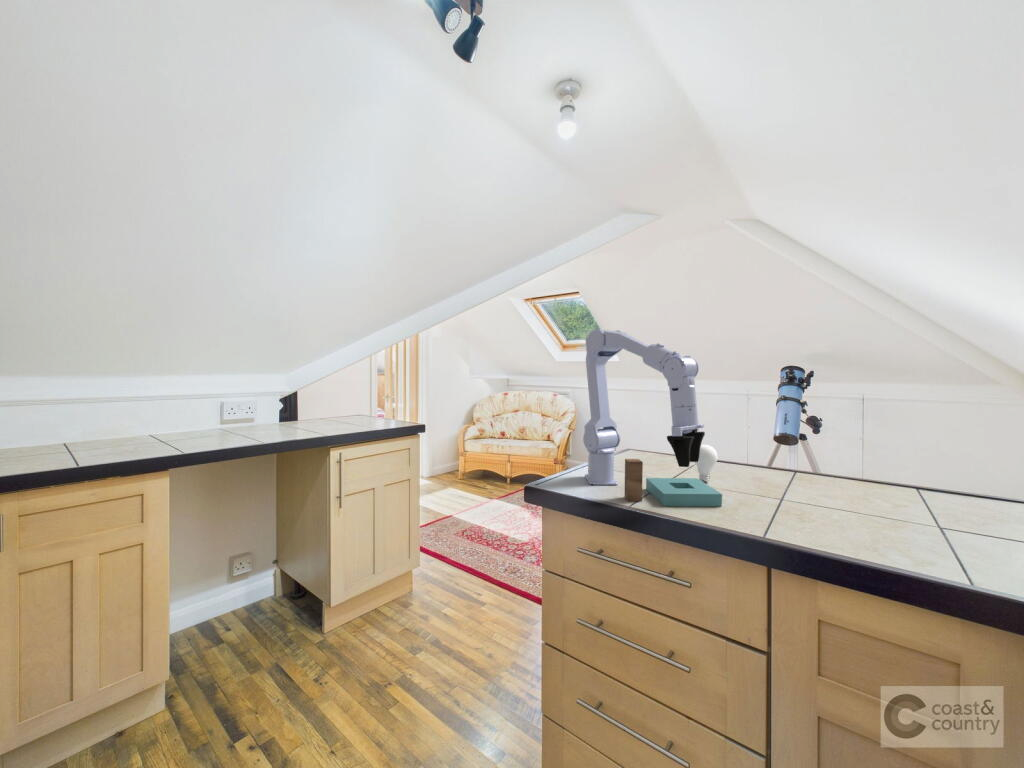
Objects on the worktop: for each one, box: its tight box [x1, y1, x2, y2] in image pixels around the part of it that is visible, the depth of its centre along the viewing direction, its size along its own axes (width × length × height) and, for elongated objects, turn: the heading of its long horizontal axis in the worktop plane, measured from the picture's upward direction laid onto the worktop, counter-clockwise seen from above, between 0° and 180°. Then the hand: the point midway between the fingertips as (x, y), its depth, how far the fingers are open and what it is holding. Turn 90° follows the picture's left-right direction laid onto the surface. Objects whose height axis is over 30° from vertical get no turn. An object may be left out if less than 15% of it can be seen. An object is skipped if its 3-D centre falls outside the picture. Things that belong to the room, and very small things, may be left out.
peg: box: [623, 458, 644, 502], centre depth 107 cm, size 4×4×10 cm
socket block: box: [645, 477, 723, 507], centre depth 109 cm, size 14×14×3 cm
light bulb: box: [694, 444, 719, 483], centre depth 122 cm, size 7×7×11 cm
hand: (688, 464), depth 99 cm, fingers open, 7 cm apart
